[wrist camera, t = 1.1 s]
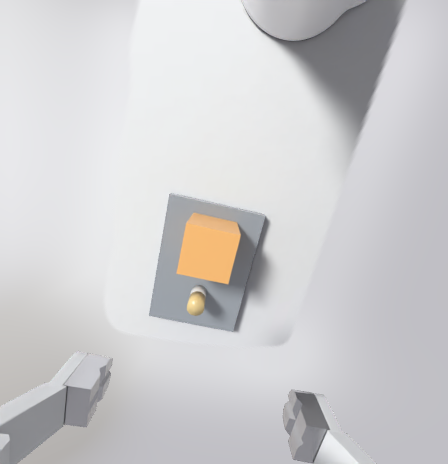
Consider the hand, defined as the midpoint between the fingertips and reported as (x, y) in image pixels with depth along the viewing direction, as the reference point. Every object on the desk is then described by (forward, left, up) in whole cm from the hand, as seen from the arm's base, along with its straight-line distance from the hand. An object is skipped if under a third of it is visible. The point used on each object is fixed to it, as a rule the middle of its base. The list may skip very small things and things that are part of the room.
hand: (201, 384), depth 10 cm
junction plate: (+5, -1, -26) cm, 26 cm away
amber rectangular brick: (0, -1, -24) cm, 24 cm away
